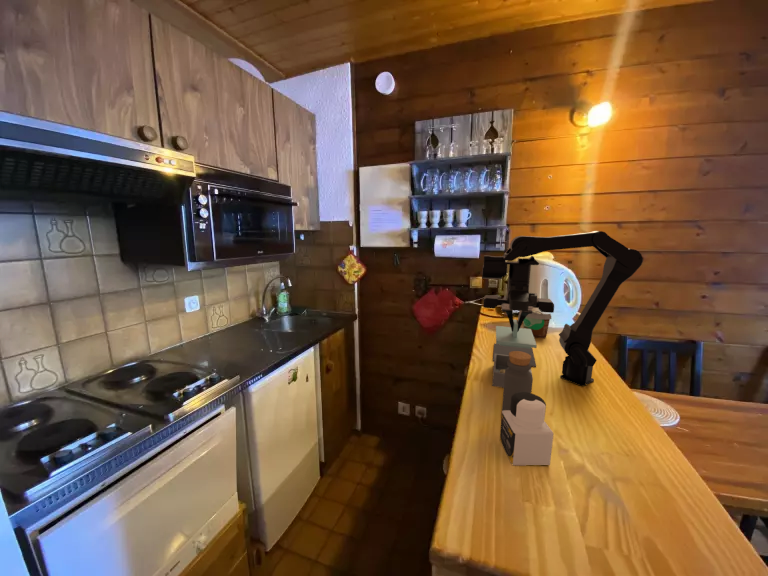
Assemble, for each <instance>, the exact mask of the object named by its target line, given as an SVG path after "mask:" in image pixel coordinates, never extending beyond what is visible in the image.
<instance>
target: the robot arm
mask: <svg viewBox="0 0 768 576" xmlns="http://www.w3.org/2000/svg"><path fill="white" fill-rule="evenodd" d="M587 247H593V248H594V249H595V250H596V251H598V252H599V254H601V255H602V256H603V257H605V258H606V259H605V261H604V264H603V269H602V276H601V277H600V280H599V281H598V283H597V285H596V287H595V288H594V291H593V292H592V294H591V295H590V297H589V299H588V301H587V302H586V303H585V306H584V307H583V309H582V311H581V312H580V314H579V315H578V318H577V319H576V320H575V322H573V323H571V325H570V324H568V323H565V324H564V326H563V328H562V331H561V332H559V333H558V336H559V340H558V341H559V344H560V346H561V348H562V349H563V351H564V352H565V354H566V355H567V356H565V357H564V360H563V361H562V367H561V369H562V370H561V375H560V376H559V378H560V379H563V380H565V381H568V382H570V383H573V384H575V385H578V386H581V387H586V386H587V385H589V384H591V383H593V382H594V381H595V380H594V378H593V377H592V376H593V369H594V366H595V364H596V362H597V358H596V357H595V356H594V355H593V354H592V352H590V351H589V348H590V346H591V343H592V337H593V331H594V329H595V328H596V326H597V324H598V322H599V321H600V319H601V317H602V316H603V315H604V313H605V311H606V309H607V308H608V306H609V305H610V303H611V301H612V299H613V298H614V297H615V295H616V292H618V290H619V288H620V286H621V285H622V284H623V283H625V282H626V281H627V280H628V279H630V278H631V277H632V276H633V275H634V274H635V273H636V272H637V271H638V270H639V268H640V267H641V266H642V265H643V262H644V257H643V256H642V253H641V252H640V251H638V250H637V249H633V248H628V247H627V246H626V245H624V244H623V243H620V242H619V241H617V240H616V239H614V238H613V237H611V236H610V235H608V233H606V232H605V231H602V230H601V231H600V230H593V231H590V232H581V233H573V234H563V235H553V236H534V235H533V236H531V235H518V236H515V237H514V238H513V239H512V240H511V242H510V243H509V248H508V249H507V250H506V252H504V254H503V255H502V256H501V255H499V256H494V255H483V265H482V273H481V279H486V280H503V278H504V277H506V276H507V275H508V277H507V278H508V279H507V293H506V294H507V295H506V298H498V297H499V296H498V295H492V294H491V295H490V294H489V295H488V294H486V295H484V297H483V302H482V303H483V306H482V307H483V308H484V309H496V308H497V307H498V306H501V312H503V313H506V316H507V319H508V322H509V327H511V330H512V332H513V328H514V324H513V319H514V312H515V311H518V317H517V323H518V331H519V329H520V328H522V327H521V326H523V325H522V324H523V321H524V319H525V318H526V316H527V315H528V314H532V313H533V311H534V310H533V309H534V308H535V309H536V308H537V309H538V310H539V312H540V313H548V314H551V313H554V312H555V303H554V302H553V301H552V300H551V299H550V298H540V297H539V298H538V293H536V292H535V293H534V292H530V281H531V280H530V279H531V269H532V266H538V265H540V263H539V262H538V261H537V260H536V258H535V256H534V255H538V254H540V253H545V252H548V251H558V250H568V249H579V248H587ZM526 257H528V258H526ZM516 259H517V260H516ZM515 260H516V261H515ZM507 273H508V274H507ZM518 331H517V332H518Z"/></svg>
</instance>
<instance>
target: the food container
mask: <svg viewBox="0 0 768 576" xmlns="http://www.w3.org/2000/svg"><path fill="white" fill-rule="evenodd" d="M532 311H533V313H532V314H528V315H527V316H526V318H525V319H524V321H523V322H522V324H523V325H522V327H523V328H525V329H531V331H532V333H533V336H534V338H540V339H541V338H542V339H543V338H547V335H548V332H549V331H548V330H549V325H550V320H552V314H551V313H544V312H541V311H537V310H532Z"/></svg>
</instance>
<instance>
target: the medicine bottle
mask: <svg viewBox="0 0 768 576" xmlns="http://www.w3.org/2000/svg"><path fill="white" fill-rule="evenodd" d="M546 406H547V404H546V401H545V400H544V399H543V398H542V397H541V396H539V395H537V394H534V393H532V392H531V393H528V392H517V393H515V394H513V395H512V396H511V406H510V410H503V411H502V410H501V417H500V418H501V419H500V431H499V441H500V444H501V446H502V447H503V450H504V452H505V454H506V456H507V458H508V460H509V462H510V464H511V465H512V464H513V465H512V466H526V465H549V466H550V465H551V459H552V452H553V451H552V449H553V441H554V431H553V430H552V429H551V427H550V426H549V425H548V423H547V422H546V421H545V418H546V417H545V416H546V408H547V407H546Z"/></svg>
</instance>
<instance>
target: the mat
mask: <svg viewBox="0 0 768 576" xmlns="http://www.w3.org/2000/svg"><path fill="white" fill-rule="evenodd" d="M533 350H534V349H533V348H532V347H531V349H529V348H519V347H510V346H501V345H500V344H496V342H495V343H494V345H493V353H492V362H494V356H495V354H502V355H509V353H510V352H512V351H521V352H525V353H528V354H529V355H531V360H530V363H531V364H532V366H531V368H537V363H536V358H535V355H534V351H533Z"/></svg>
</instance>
